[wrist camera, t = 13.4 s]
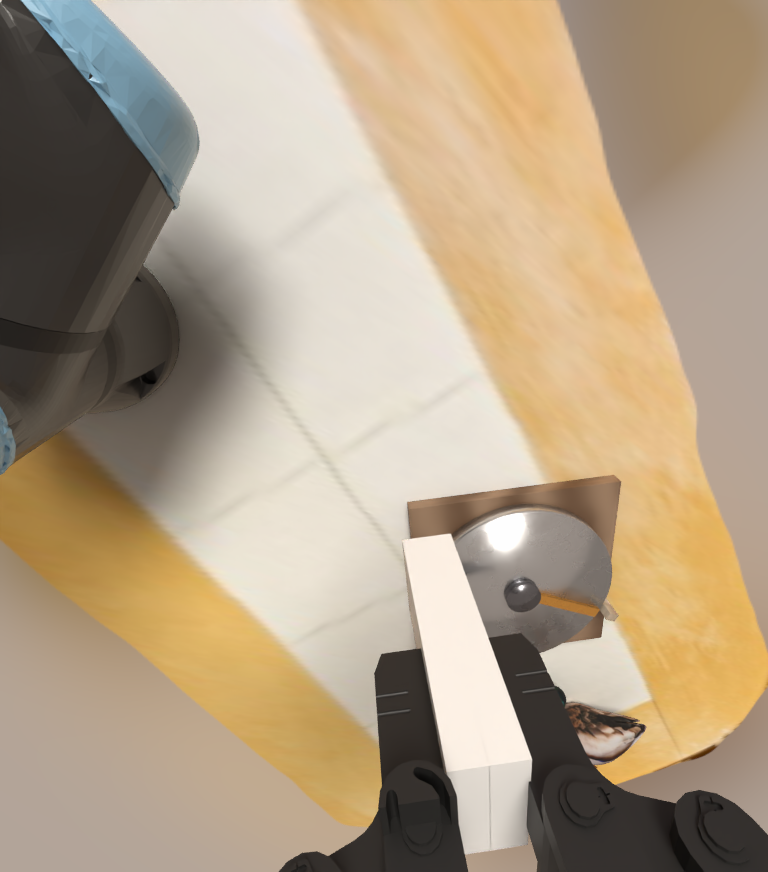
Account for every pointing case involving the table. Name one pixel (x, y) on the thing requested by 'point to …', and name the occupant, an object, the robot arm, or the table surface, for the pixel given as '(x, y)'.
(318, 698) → the table surface
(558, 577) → the dial
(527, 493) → the walnut stand board
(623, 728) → the decorative duck model
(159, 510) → the table surface
